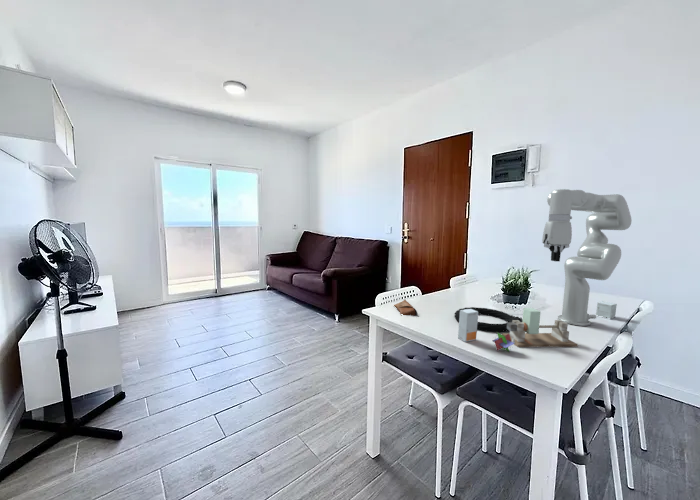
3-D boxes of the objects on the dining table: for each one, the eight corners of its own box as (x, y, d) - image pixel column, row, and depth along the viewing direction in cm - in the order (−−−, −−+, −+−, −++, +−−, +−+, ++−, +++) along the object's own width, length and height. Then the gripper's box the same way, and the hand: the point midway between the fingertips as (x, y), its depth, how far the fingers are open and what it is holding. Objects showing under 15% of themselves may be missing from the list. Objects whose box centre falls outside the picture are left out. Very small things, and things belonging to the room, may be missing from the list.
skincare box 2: (595, 315, 152) (596, 302, 151) (600, 314, 155) (602, 300, 154) (610, 319, 147) (612, 305, 146) (615, 317, 150) (617, 303, 149)
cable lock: (450, 304, 157) (512, 308, 151) (450, 311, 157) (511, 315, 151) (459, 322, 130) (534, 328, 124) (458, 330, 130) (533, 337, 124)
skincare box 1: (465, 342, 117) (467, 313, 115) (457, 338, 120) (459, 310, 119) (476, 340, 119) (478, 311, 118) (468, 336, 123) (470, 308, 122)
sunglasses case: (391, 305, 165) (397, 295, 165) (401, 311, 166) (408, 301, 166) (401, 315, 147) (408, 304, 147) (412, 322, 148) (419, 311, 148)
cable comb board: (556, 335, 125) (558, 317, 124) (577, 346, 114) (579, 326, 114) (500, 335, 124) (501, 317, 123) (516, 347, 113) (517, 327, 112)
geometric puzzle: (497, 350, 106) (510, 331, 106) (484, 342, 112) (496, 325, 113) (510, 359, 107) (522, 342, 108) (496, 351, 114) (508, 334, 114)
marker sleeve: (531, 329, 121) (533, 308, 120) (538, 334, 117) (540, 311, 116) (521, 329, 121) (523, 308, 120) (528, 334, 116) (530, 311, 115)
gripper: (568, 219, 131) (564, 259, 133) (536, 218, 130) (532, 259, 132) (583, 219, 123) (578, 262, 125) (548, 218, 122) (544, 262, 124)
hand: (555, 260), depth 128 cm, fingers closed
